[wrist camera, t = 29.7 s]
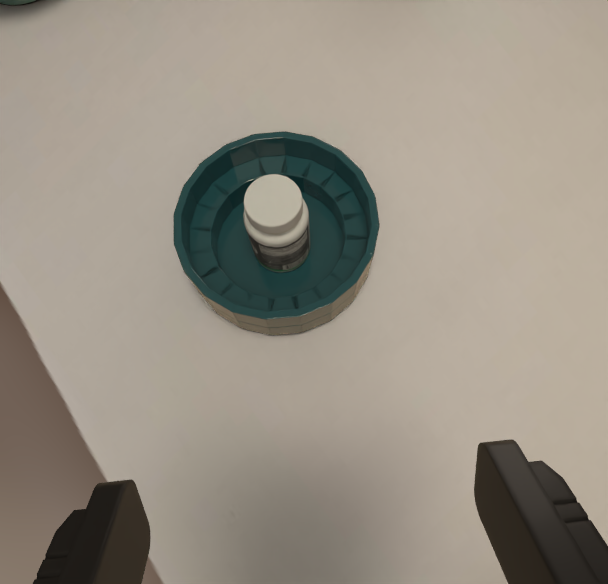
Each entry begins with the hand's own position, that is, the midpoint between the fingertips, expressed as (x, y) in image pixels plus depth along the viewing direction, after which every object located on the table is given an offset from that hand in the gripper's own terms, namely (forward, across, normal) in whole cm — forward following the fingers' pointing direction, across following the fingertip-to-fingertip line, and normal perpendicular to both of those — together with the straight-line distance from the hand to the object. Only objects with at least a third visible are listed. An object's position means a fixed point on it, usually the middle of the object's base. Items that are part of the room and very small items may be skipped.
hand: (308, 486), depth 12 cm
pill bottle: (+31, +1, +6) cm, 31 cm away
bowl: (+31, +1, +6) cm, 32 cm away
